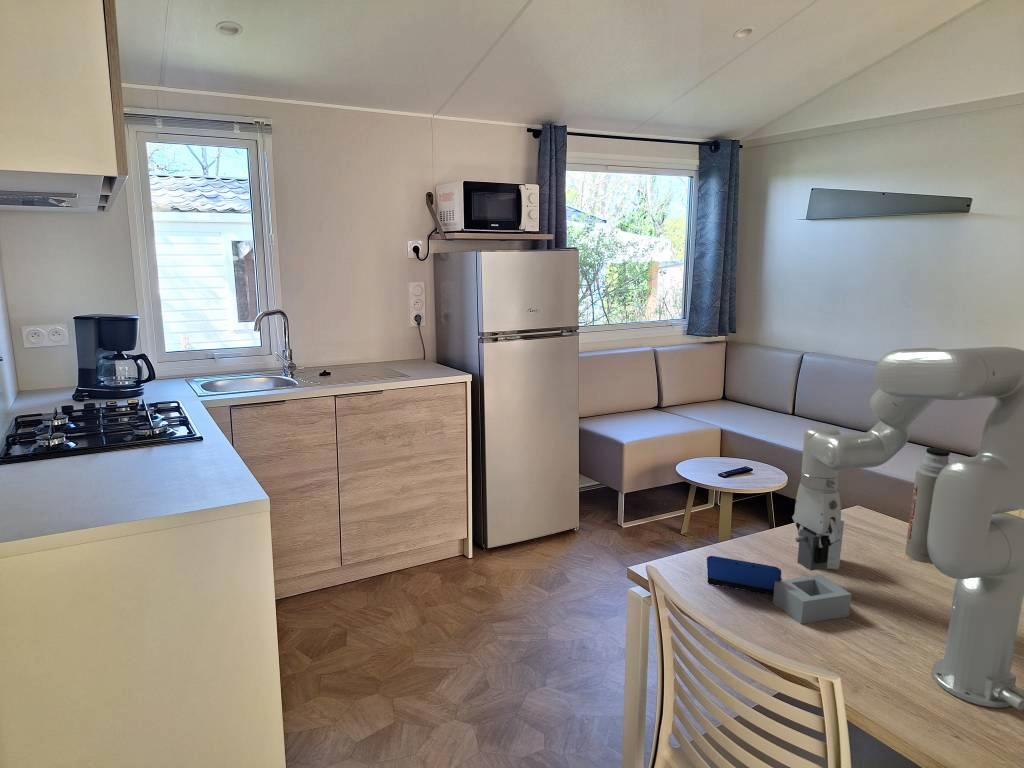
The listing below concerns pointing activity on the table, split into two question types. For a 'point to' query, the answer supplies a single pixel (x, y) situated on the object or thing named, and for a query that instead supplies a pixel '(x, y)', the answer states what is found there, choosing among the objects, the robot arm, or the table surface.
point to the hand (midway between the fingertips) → (812, 557)
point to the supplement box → (835, 551)
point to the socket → (811, 599)
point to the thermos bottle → (924, 503)
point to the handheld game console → (742, 575)
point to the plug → (808, 550)
